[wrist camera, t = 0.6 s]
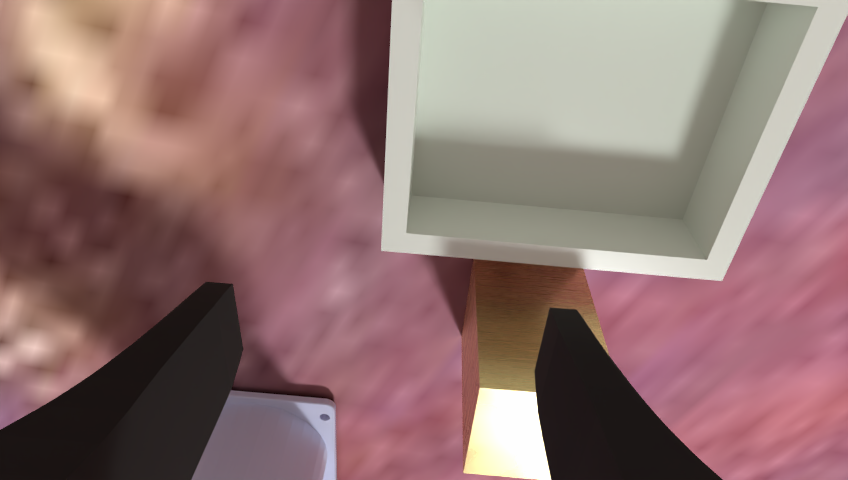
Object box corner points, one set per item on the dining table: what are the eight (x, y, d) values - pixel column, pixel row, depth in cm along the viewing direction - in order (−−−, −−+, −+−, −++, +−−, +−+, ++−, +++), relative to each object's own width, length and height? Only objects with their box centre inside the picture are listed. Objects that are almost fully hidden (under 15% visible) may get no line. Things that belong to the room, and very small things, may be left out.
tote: (687, 224, 23) (722, 280, 20) (390, 198, 23) (381, 250, 20) (796, -47, 17) (865, -25, 14) (405, -84, 17) (394, -68, 14)
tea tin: (559, 344, 27) (588, 483, 21) (461, 335, 27) (463, 472, 21) (582, 265, 24) (622, 400, 18) (473, 256, 24) (479, 387, 18)
